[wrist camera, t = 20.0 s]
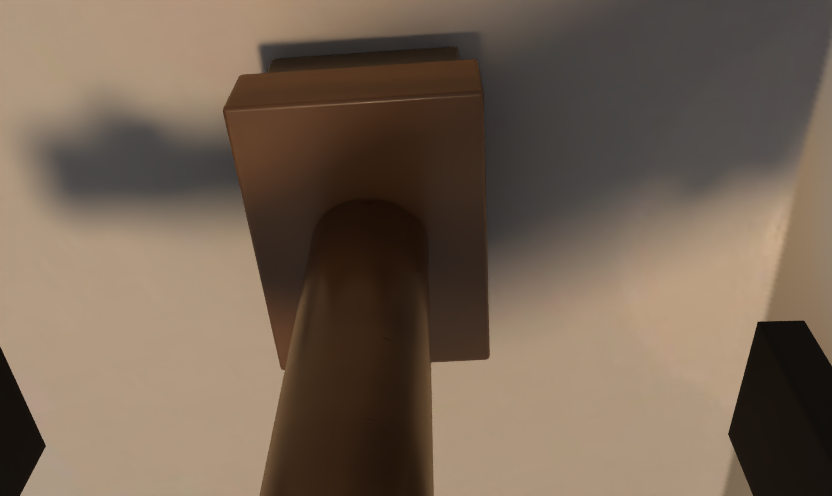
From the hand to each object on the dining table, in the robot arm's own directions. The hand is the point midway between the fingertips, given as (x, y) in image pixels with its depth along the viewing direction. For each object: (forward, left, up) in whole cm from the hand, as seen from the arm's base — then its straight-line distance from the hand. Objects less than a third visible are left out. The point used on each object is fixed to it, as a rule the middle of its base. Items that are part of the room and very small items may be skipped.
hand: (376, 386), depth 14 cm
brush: (+1, 0, -9) cm, 9 cm away
